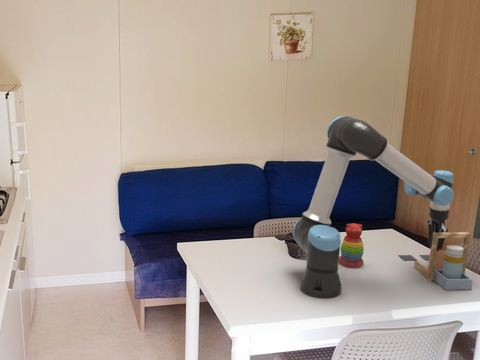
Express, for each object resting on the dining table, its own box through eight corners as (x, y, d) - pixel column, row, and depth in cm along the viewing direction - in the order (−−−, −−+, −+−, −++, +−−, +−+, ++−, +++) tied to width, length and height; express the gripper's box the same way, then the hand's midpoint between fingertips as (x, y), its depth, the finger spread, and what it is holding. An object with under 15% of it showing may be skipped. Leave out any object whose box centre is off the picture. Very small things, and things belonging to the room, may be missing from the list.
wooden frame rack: (429, 281, 216) (435, 234, 211) (413, 267, 230) (418, 223, 225) (464, 280, 218) (470, 233, 213) (446, 267, 232) (451, 222, 227)
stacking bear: (362, 260, 236) (365, 220, 232) (365, 269, 226) (369, 228, 222) (337, 258, 237) (340, 219, 233) (338, 267, 227) (342, 226, 223)
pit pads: (403, 260, 237) (403, 260, 237) (398, 255, 243) (398, 255, 243) (438, 260, 240) (438, 259, 239) (432, 255, 245) (432, 254, 245)
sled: (445, 289, 208) (448, 267, 206) (424, 271, 225) (426, 250, 223) (470, 289, 209) (474, 267, 207) (447, 271, 226) (449, 250, 224)
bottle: (462, 287, 211) (467, 250, 208) (444, 287, 211) (449, 250, 208) (455, 280, 218) (460, 244, 214) (438, 279, 218) (442, 244, 214)
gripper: (456, 212, 217) (448, 268, 222) (440, 204, 230) (433, 257, 235) (438, 213, 216) (431, 268, 221) (423, 204, 229) (417, 257, 234)
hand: (432, 262), depth 228 cm, fingers closed
